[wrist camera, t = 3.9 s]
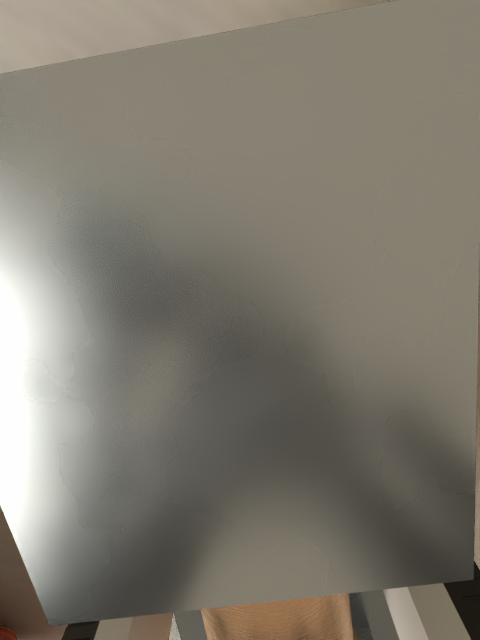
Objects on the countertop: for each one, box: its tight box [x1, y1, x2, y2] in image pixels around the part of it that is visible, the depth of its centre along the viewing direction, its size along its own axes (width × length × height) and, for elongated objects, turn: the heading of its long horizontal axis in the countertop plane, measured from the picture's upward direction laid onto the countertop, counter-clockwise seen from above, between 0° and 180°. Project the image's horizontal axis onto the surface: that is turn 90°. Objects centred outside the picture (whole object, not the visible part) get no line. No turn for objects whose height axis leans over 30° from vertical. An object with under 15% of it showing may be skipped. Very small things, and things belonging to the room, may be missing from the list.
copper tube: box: [200, 593, 358, 640], centre depth 10 cm, size 4×18×4 cm, turn 9°
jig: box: [0, 0, 480, 640], centre depth 13 cm, size 10×25×10 cm, turn 9°
